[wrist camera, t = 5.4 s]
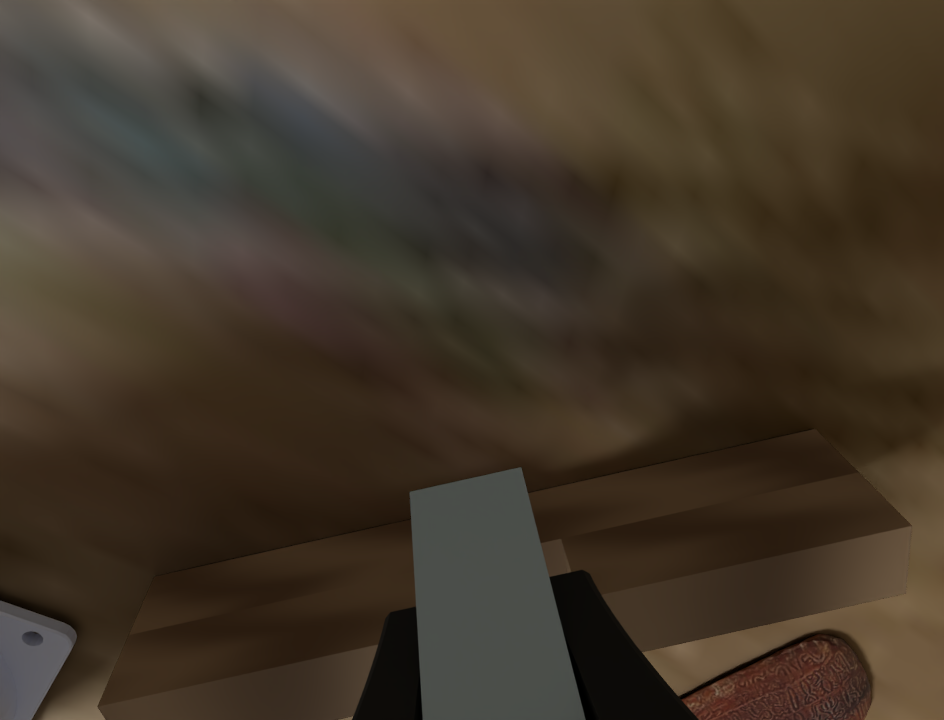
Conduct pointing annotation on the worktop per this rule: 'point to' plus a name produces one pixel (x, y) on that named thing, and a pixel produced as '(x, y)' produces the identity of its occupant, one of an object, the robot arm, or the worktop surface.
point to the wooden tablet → (791, 686)
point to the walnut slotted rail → (565, 550)
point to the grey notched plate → (487, 606)
